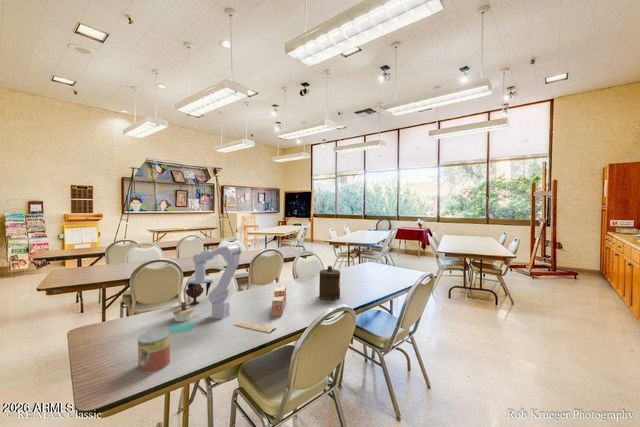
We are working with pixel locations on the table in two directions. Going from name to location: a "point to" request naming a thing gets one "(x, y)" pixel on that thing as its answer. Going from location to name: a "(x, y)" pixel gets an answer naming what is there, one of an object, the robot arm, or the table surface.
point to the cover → (183, 310)
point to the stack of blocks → (279, 301)
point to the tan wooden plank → (254, 326)
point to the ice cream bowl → (195, 293)
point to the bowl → (183, 317)
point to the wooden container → (329, 284)
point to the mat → (180, 327)
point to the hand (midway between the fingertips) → (200, 295)
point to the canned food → (153, 351)
